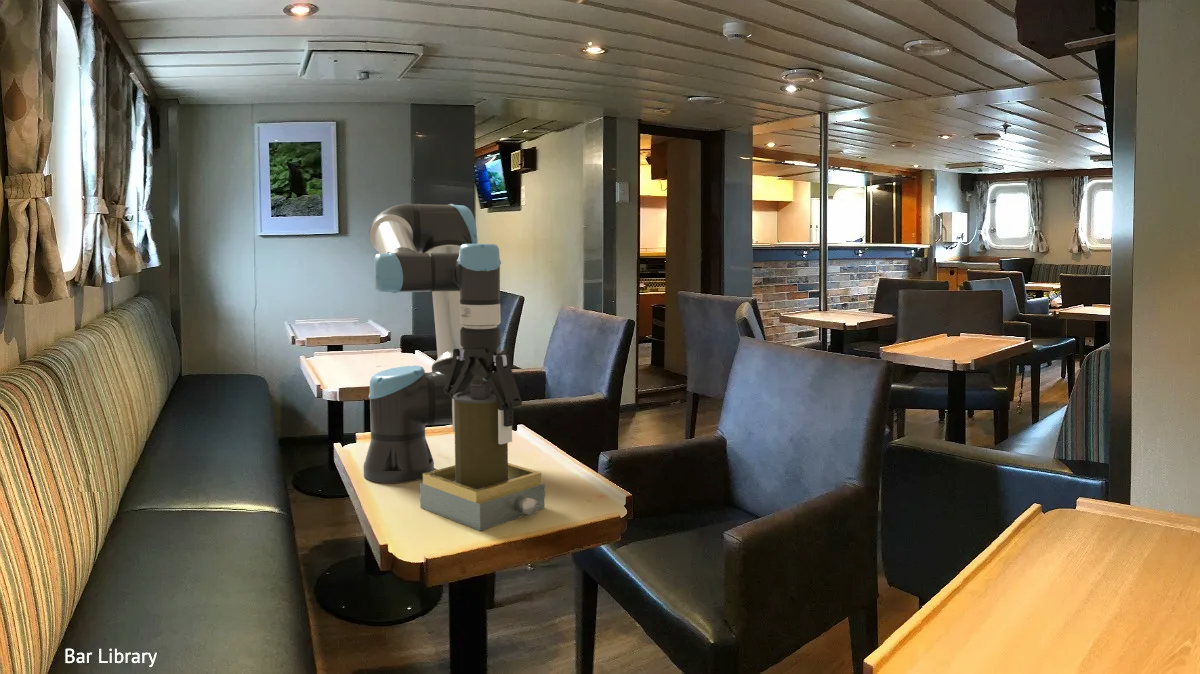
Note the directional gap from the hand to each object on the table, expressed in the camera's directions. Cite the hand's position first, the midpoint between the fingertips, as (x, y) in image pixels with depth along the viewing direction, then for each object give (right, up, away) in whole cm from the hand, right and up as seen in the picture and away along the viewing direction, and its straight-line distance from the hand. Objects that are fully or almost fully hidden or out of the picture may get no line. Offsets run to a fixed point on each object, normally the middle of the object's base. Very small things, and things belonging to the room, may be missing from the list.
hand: (481, 436), depth 152 cm
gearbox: (+1, -14, +1) cm, 14 cm away
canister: (0, -9, +1) cm, 9 cm away
